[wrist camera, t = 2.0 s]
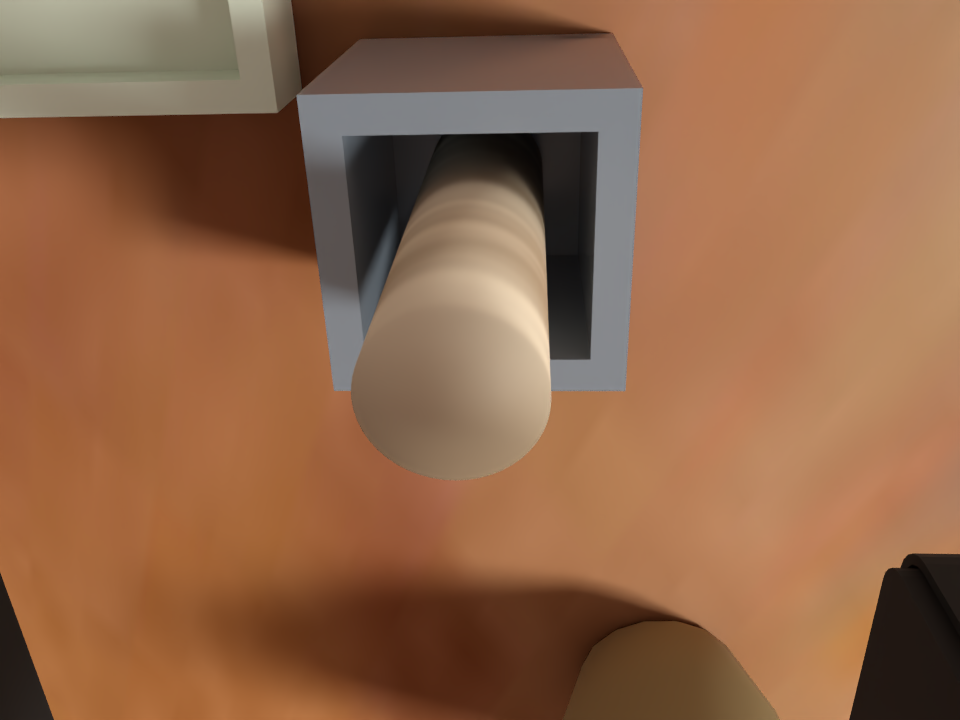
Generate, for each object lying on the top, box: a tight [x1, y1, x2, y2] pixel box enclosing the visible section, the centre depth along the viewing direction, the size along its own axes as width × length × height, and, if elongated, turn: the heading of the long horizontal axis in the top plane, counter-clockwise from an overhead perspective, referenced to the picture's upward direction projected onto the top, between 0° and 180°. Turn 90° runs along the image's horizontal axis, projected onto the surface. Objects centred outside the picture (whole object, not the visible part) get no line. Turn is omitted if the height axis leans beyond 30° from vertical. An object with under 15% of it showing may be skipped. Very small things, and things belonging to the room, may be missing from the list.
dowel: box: [351, 133, 551, 480], centre depth 18 cm, size 3×3×12 cm
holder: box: [296, 33, 643, 391], centre depth 21 cm, size 7×7×7 cm
